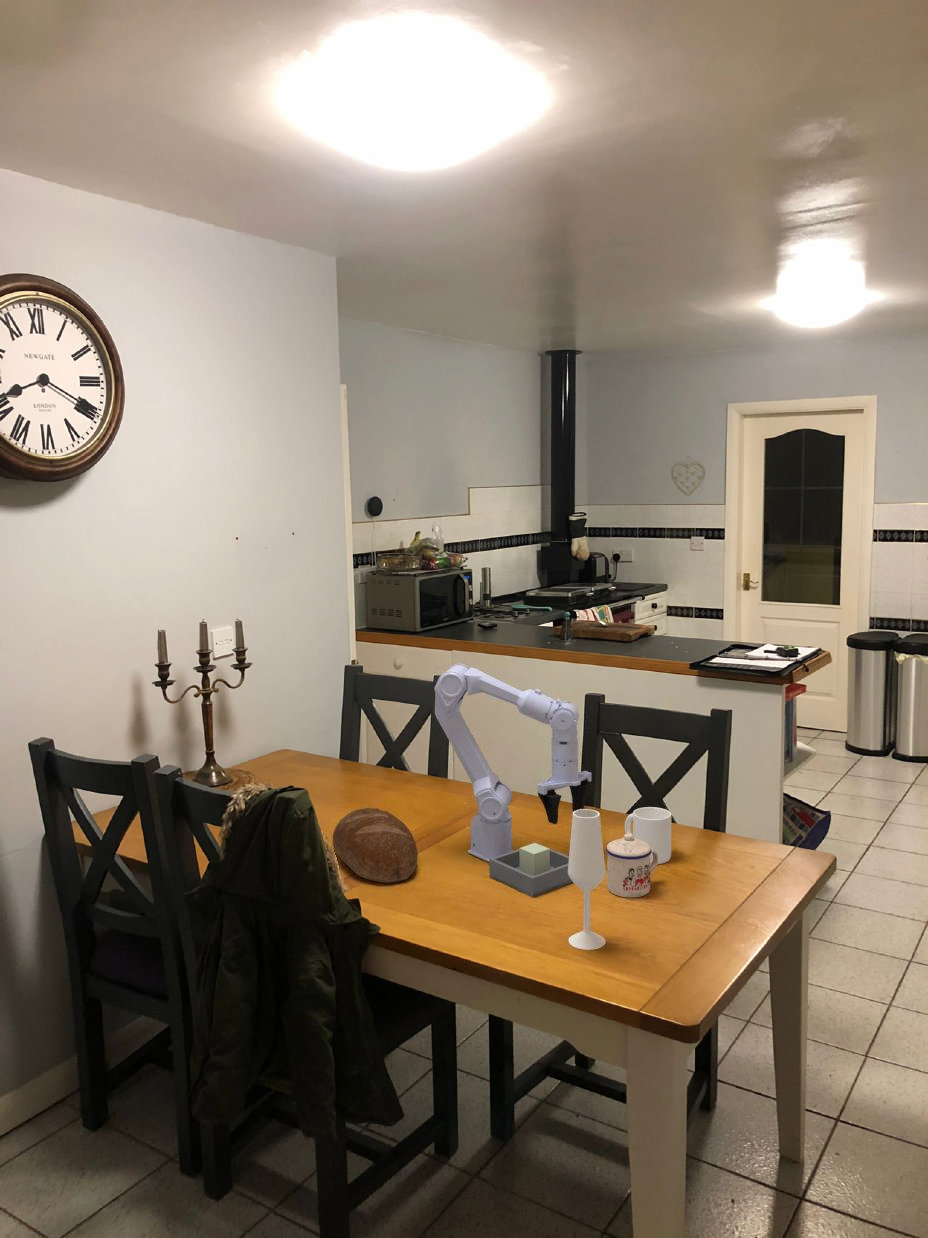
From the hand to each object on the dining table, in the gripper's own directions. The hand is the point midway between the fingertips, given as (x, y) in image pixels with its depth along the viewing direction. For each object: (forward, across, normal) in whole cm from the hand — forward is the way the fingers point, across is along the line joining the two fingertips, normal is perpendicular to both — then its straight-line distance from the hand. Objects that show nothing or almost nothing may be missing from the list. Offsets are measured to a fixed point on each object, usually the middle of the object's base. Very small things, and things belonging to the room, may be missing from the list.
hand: (565, 818), depth 209 cm
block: (+9, -12, -3) cm, 15 cm away
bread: (+10, -32, +28) cm, 44 cm away
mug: (+10, +15, -10) cm, 20 cm away
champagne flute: (+10, -24, -30) cm, 40 cm away
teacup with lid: (+10, 0, -20) cm, 22 cm away
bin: (+9, -12, -3) cm, 16 cm away
